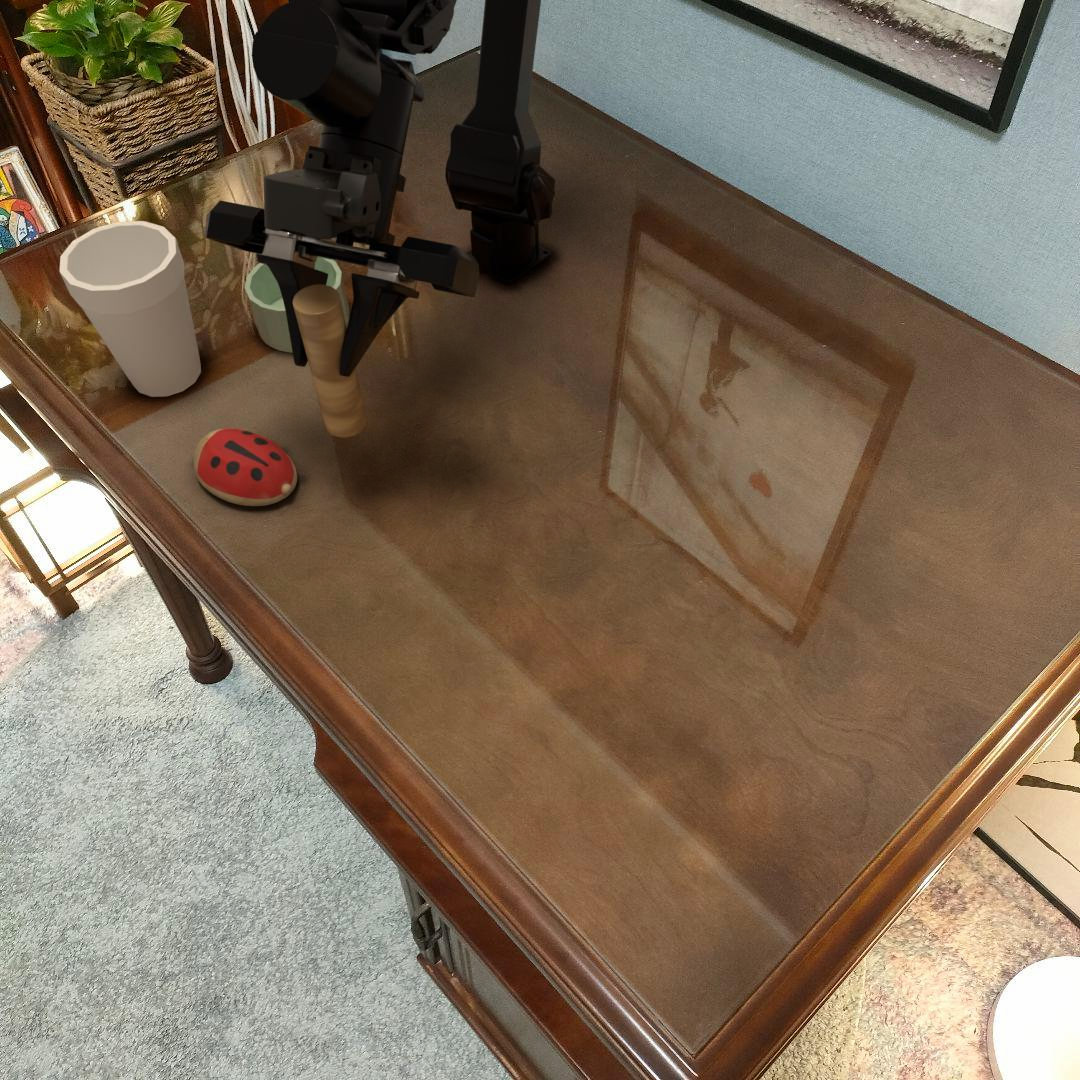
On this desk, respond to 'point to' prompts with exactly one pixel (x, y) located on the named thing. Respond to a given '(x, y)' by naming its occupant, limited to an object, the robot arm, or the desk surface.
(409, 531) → the desk surface
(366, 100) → the robot arm
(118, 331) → the foam cup
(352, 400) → the pestle
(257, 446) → the ladybug figurine
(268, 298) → the celadon cup
